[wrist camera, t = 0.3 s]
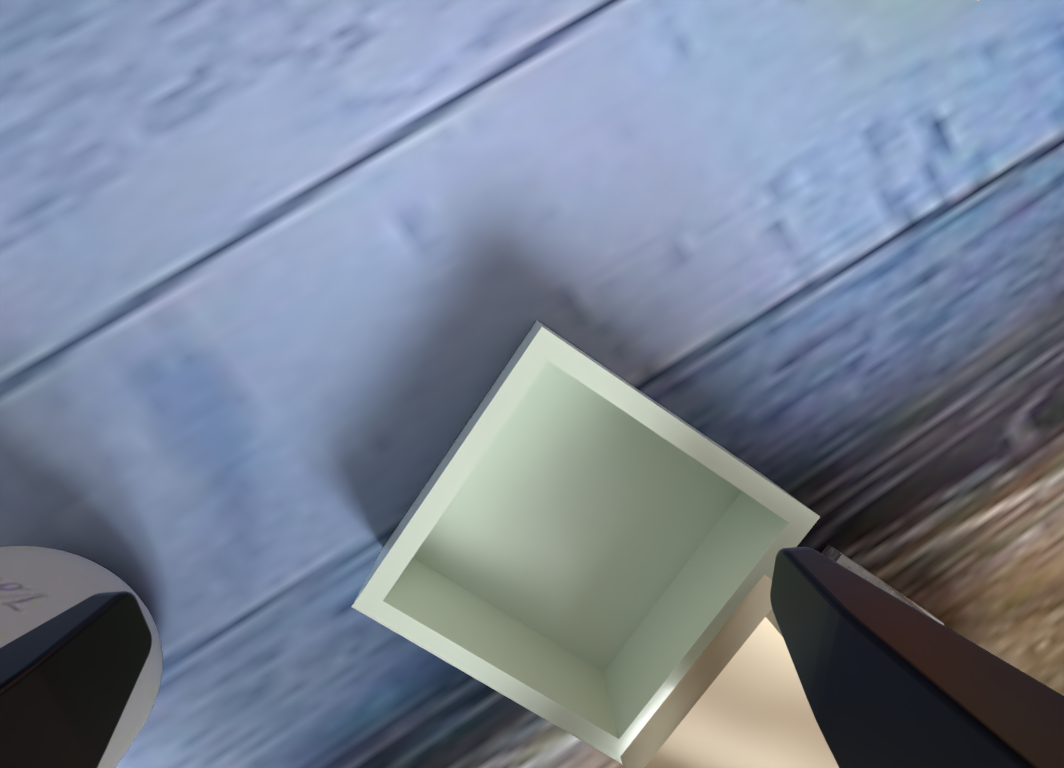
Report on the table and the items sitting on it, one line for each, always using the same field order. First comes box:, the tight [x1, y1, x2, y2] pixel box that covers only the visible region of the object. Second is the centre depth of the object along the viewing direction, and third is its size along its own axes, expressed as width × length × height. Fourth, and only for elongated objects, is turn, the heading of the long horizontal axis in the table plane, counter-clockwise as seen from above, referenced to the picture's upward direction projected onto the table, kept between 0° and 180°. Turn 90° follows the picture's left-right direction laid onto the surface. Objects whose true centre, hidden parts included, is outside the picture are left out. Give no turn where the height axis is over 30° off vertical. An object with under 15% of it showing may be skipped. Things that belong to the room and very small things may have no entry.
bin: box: [352, 320, 820, 763], centre depth 21 cm, size 12×12×4 cm
